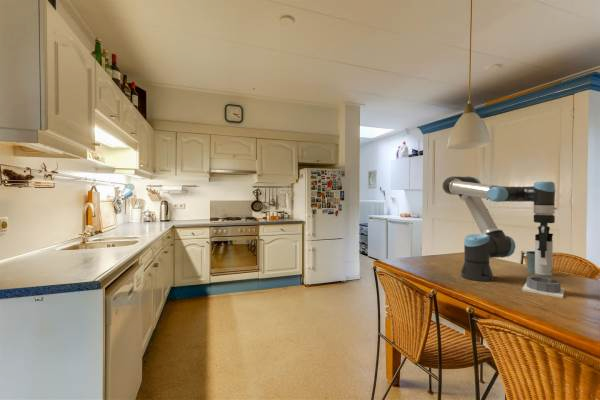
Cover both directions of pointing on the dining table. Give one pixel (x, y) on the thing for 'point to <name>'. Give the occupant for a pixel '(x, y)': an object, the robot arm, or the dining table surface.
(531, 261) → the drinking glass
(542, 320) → the dining table surface
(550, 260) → the travel mug
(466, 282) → the dining table surface
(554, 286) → the cup holder
